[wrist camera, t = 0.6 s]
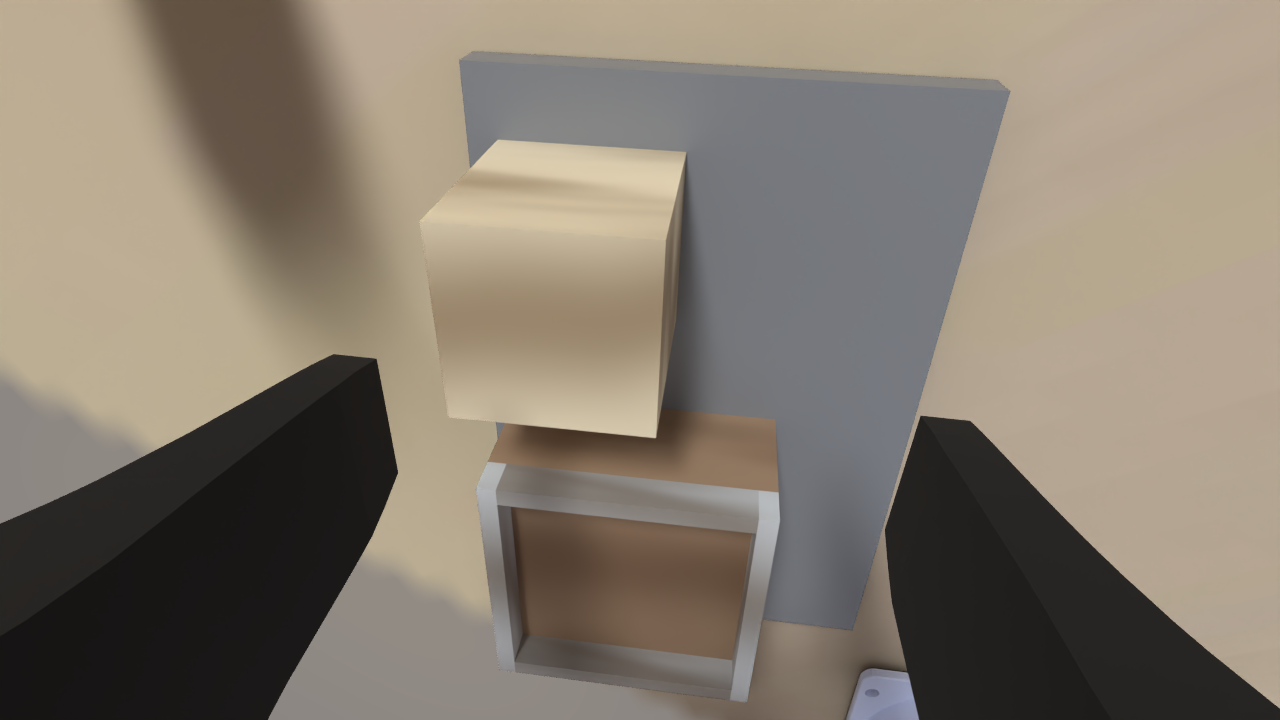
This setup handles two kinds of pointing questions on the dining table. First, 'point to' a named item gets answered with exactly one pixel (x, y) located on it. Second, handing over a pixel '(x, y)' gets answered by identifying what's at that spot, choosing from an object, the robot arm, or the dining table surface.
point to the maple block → (558, 285)
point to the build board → (788, 262)
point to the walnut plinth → (633, 551)
